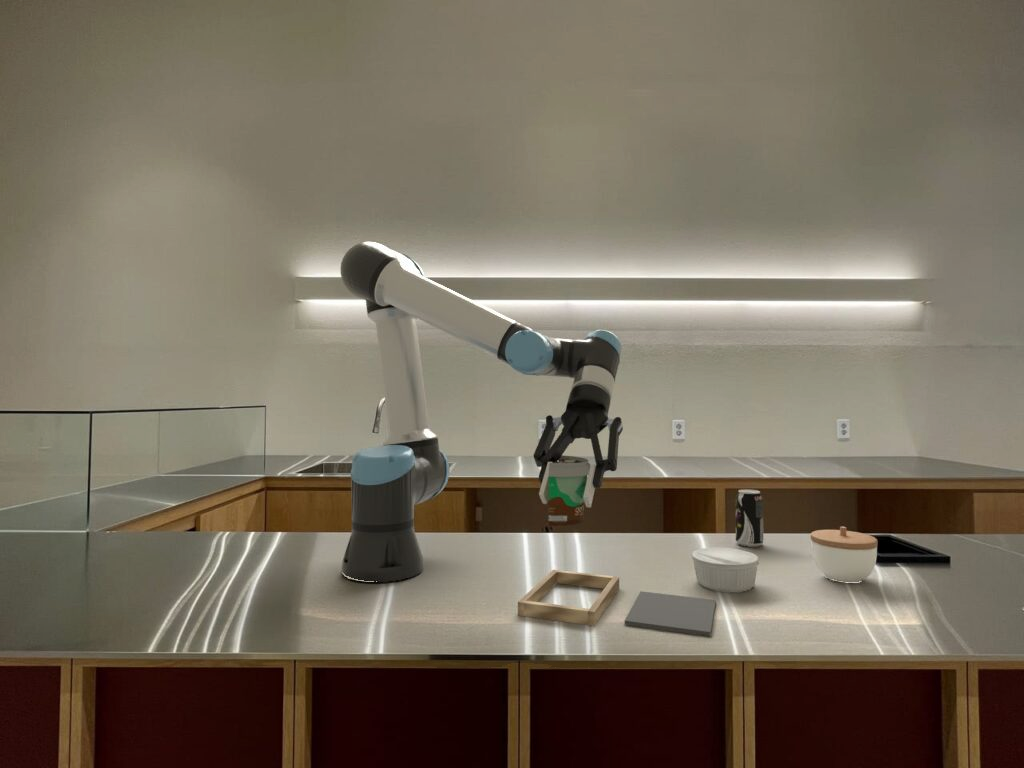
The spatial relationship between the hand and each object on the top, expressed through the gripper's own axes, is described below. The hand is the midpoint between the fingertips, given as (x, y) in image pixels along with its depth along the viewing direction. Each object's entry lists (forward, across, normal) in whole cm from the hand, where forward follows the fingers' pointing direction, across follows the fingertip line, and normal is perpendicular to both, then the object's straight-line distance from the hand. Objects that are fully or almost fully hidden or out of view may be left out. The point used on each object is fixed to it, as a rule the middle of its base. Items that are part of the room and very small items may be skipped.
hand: (564, 500), depth 97 cm
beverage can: (-25, -27, -49) cm, 61 cm away
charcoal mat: (+9, -16, -14) cm, 24 cm away
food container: (0, 0, -5) cm, 5 cm away
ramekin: (-3, -23, -27) cm, 36 cm away
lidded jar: (-11, -43, -35) cm, 57 cm away
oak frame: (+10, 0, -14) cm, 17 cm away
